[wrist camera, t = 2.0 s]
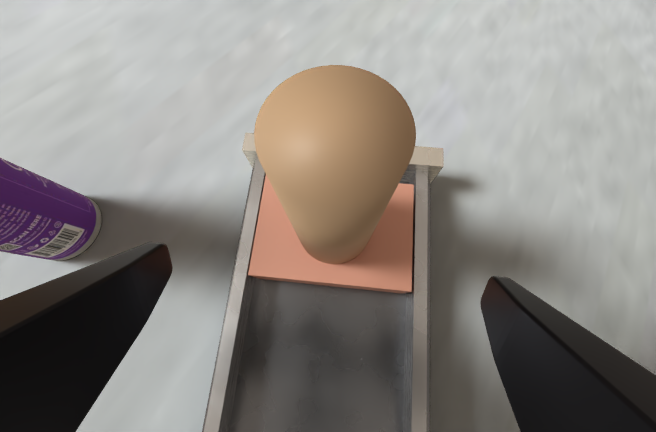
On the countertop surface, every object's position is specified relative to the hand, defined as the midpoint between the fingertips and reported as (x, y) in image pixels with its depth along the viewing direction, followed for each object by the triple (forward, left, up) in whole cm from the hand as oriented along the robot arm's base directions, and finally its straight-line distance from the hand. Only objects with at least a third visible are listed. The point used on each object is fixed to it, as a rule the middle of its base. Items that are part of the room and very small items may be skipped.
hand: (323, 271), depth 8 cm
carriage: (+2, +3, -10) cm, 10 cm away
